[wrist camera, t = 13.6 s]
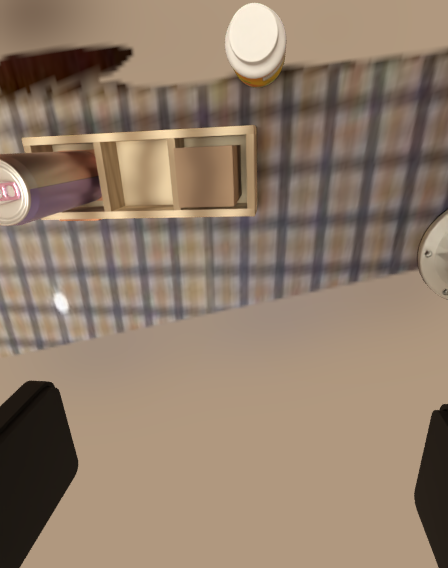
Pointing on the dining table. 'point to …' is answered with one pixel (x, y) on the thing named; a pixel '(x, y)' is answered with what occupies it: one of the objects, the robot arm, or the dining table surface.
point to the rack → (151, 171)
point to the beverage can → (45, 184)
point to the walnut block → (208, 175)
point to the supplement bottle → (256, 44)
